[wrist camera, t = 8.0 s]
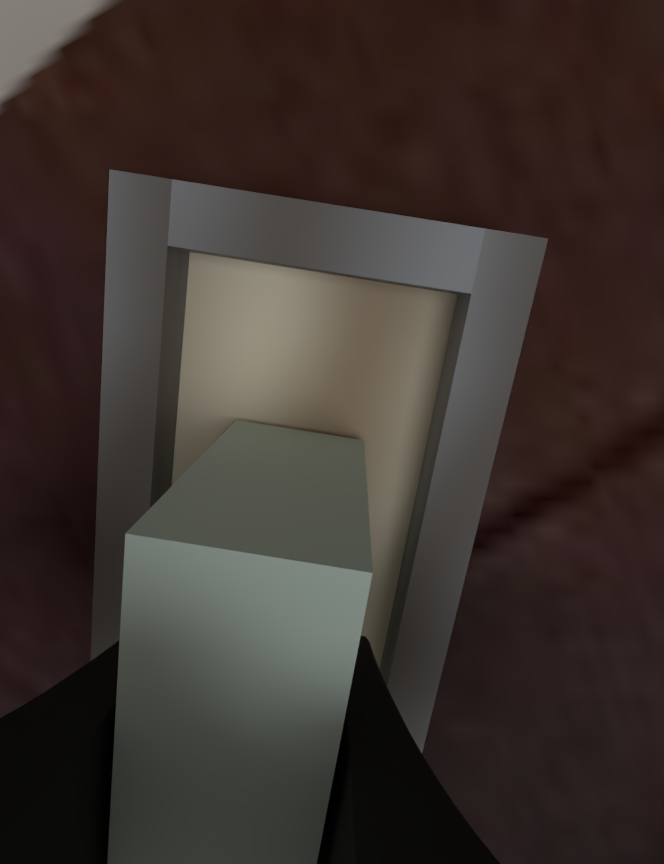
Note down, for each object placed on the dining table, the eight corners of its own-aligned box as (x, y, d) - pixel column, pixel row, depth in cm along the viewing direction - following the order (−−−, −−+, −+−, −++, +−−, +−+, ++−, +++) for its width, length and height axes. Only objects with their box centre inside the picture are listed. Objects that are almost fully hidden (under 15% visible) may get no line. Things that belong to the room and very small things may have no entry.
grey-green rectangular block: (364, 440, 12) (372, 573, 6) (309, 750, 14) (278, 1060, 8) (236, 419, 12) (125, 533, 6) (202, 732, 14) (98, 1031, 8)
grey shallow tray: (513, 249, 12) (548, 238, 10) (375, 849, 17) (378, 930, 14) (153, 192, 12) (109, 169, 10) (117, 807, 17) (82, 882, 14)
